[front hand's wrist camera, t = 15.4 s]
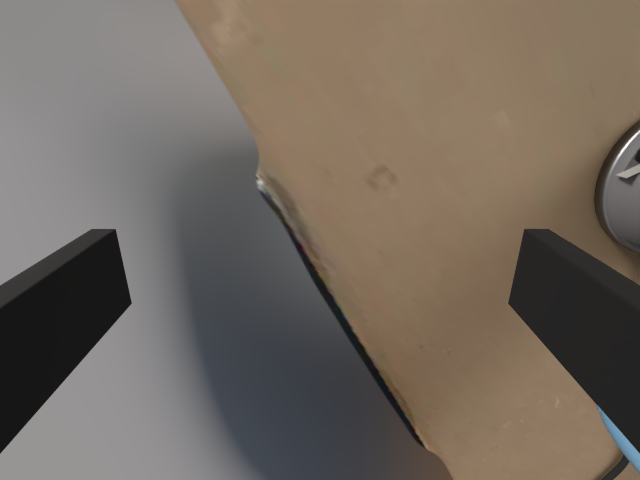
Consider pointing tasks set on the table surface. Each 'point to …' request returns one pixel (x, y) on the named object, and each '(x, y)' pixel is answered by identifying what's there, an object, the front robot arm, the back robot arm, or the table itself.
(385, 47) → the table surface
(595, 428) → the table surface
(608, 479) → the front robot arm
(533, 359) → the table surface
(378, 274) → the table surface
